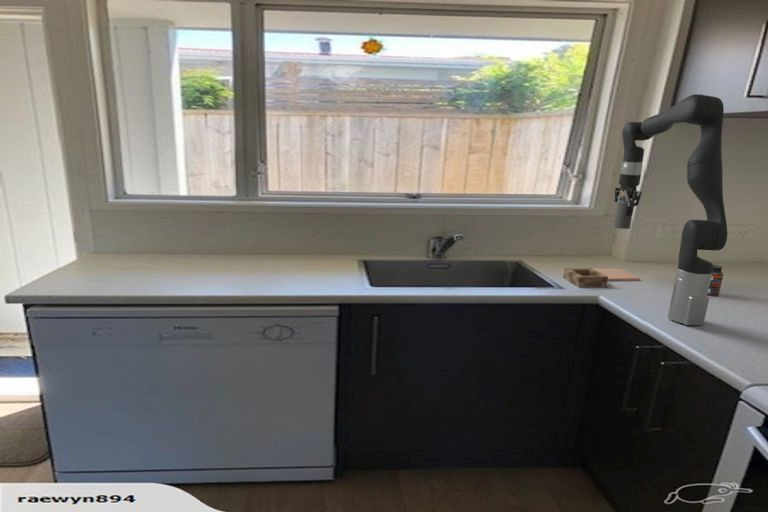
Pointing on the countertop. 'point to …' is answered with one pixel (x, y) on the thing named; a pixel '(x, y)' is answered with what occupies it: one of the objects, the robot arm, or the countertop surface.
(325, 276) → the countertop surface
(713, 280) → the supplement bottle
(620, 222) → the bottle
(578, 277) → the pocket holder
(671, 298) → the robot arm
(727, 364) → the countertop surface
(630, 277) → the tile
